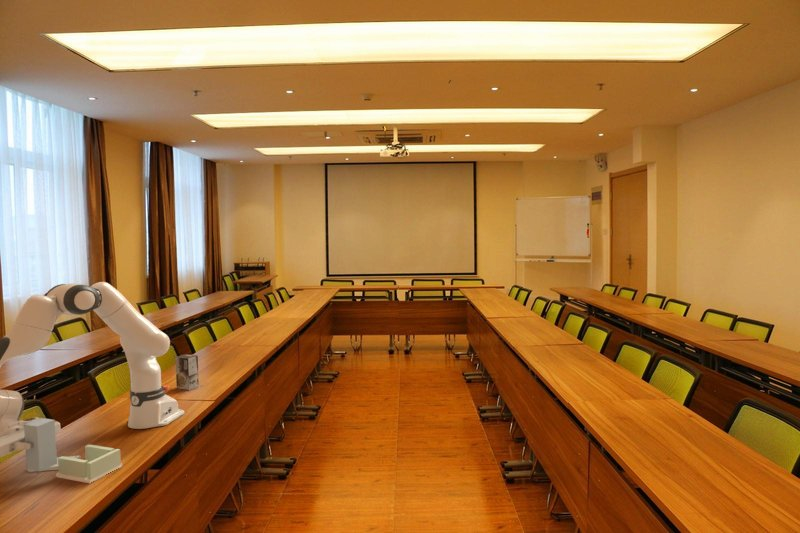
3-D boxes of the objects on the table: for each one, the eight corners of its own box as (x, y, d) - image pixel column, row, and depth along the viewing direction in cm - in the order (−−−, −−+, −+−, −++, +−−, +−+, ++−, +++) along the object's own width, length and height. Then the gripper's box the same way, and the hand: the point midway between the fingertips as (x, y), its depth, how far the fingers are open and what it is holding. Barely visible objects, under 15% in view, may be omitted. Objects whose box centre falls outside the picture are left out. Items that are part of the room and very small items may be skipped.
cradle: (89, 460, 171) (89, 443, 171) (122, 466, 167) (121, 448, 166) (56, 477, 160) (55, 458, 159) (89, 483, 155) (88, 464, 155)
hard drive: (80, 454, 174) (40, 457, 171) (70, 465, 166) (27, 468, 163) (80, 459, 174) (40, 462, 171) (70, 470, 166) (27, 473, 163)
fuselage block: (44, 461, 160) (41, 418, 159) (57, 463, 158) (54, 419, 157) (26, 469, 155) (23, 424, 154) (39, 471, 153) (36, 426, 152)
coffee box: (199, 386, 256) (198, 355, 255) (189, 390, 250) (188, 358, 249) (186, 384, 260) (185, 353, 259) (175, 388, 254) (174, 356, 253)
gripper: (-27, 439, 150) (6, 445, 145) (41, 415, 169) (72, 419, 165) (-26, 460, 150) (8, 466, 146) (42, 433, 170) (73, 438, 165)
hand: (42, 441), depth 156 cm, fingers closed on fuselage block, 5 cm apart
